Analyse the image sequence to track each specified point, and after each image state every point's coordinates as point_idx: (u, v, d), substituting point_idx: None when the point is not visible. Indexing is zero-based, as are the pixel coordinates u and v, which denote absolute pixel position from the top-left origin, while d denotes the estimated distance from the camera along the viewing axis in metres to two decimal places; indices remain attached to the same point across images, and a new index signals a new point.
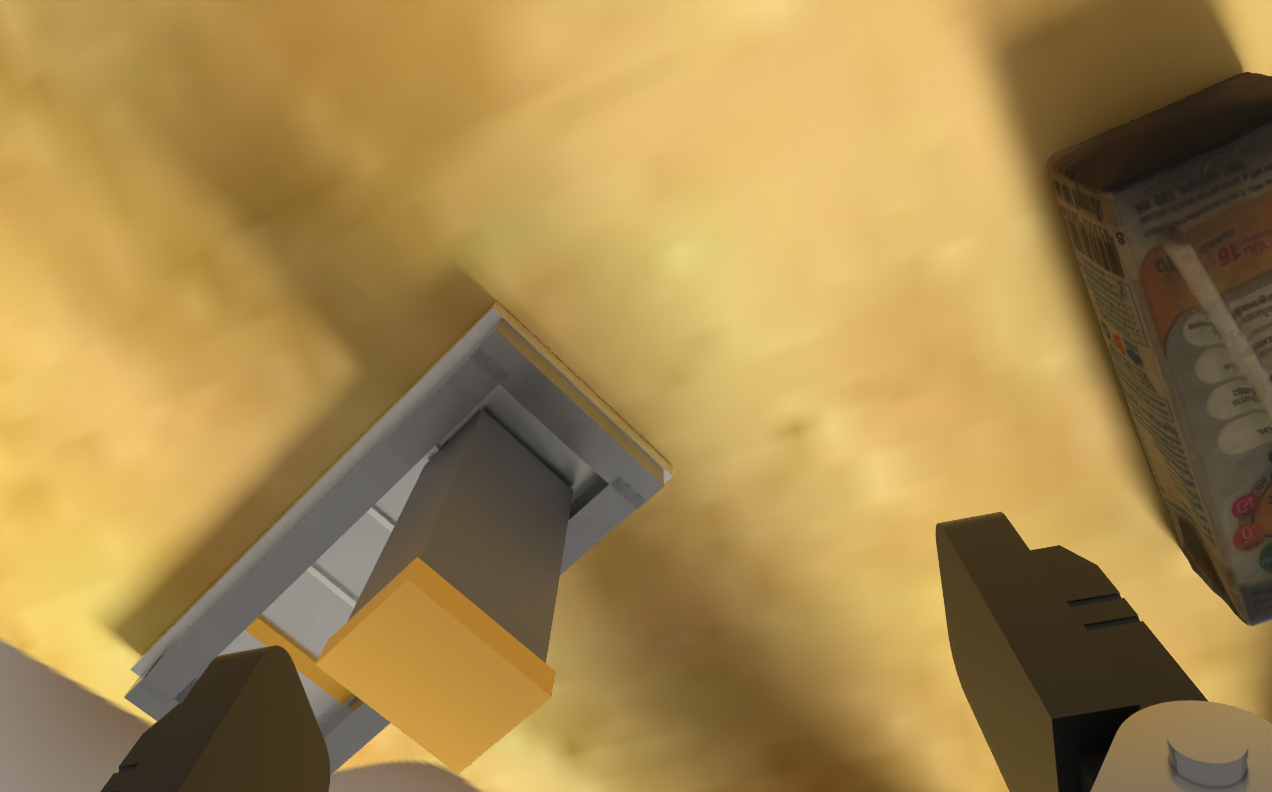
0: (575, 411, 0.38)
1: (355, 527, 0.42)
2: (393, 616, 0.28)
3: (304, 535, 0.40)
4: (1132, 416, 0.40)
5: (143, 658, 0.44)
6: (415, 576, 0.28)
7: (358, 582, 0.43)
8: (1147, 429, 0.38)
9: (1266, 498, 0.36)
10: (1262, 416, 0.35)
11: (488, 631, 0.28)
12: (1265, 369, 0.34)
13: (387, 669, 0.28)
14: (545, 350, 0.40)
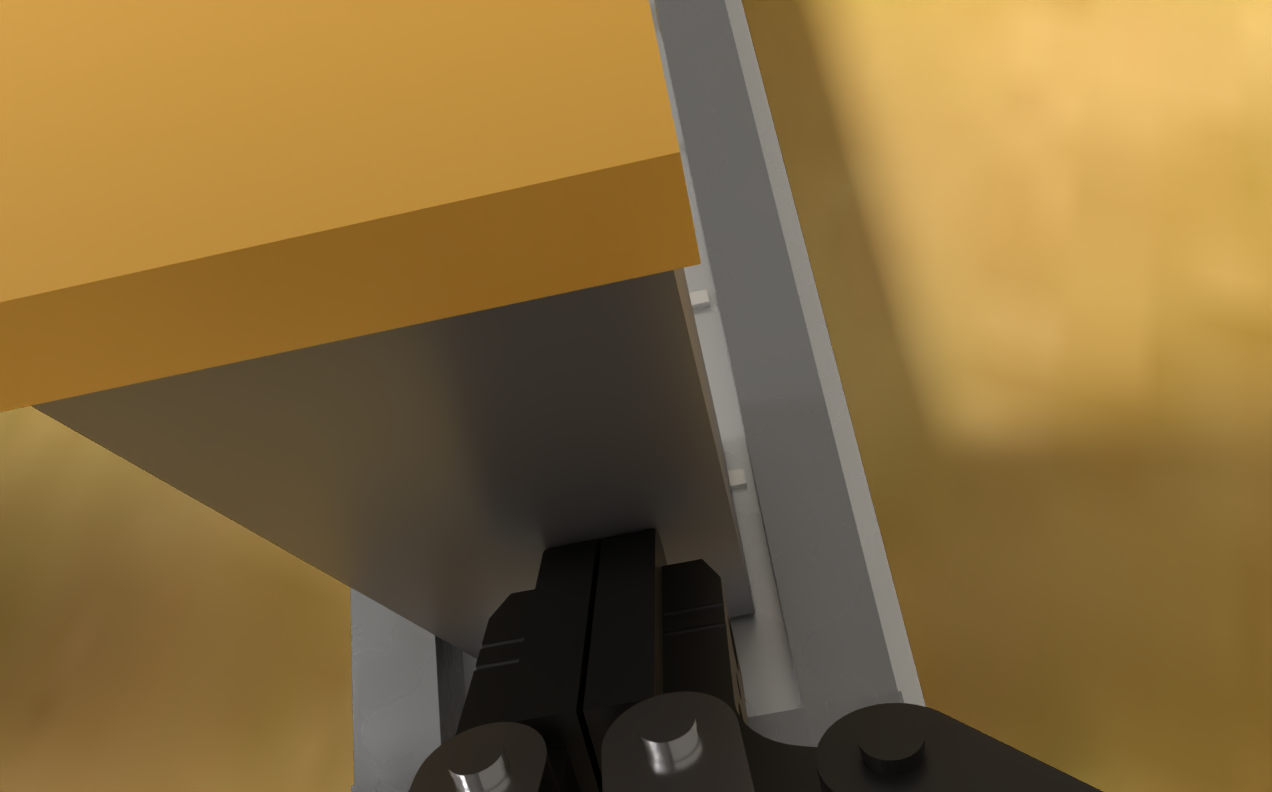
0: None
1: None
2: (569, 18, 0.06)
3: (743, 166, 0.20)
4: None
5: None
6: (658, 195, 0.06)
7: None
8: None
9: None
10: None
11: (251, 304, 0.06)
12: None
13: None
14: None
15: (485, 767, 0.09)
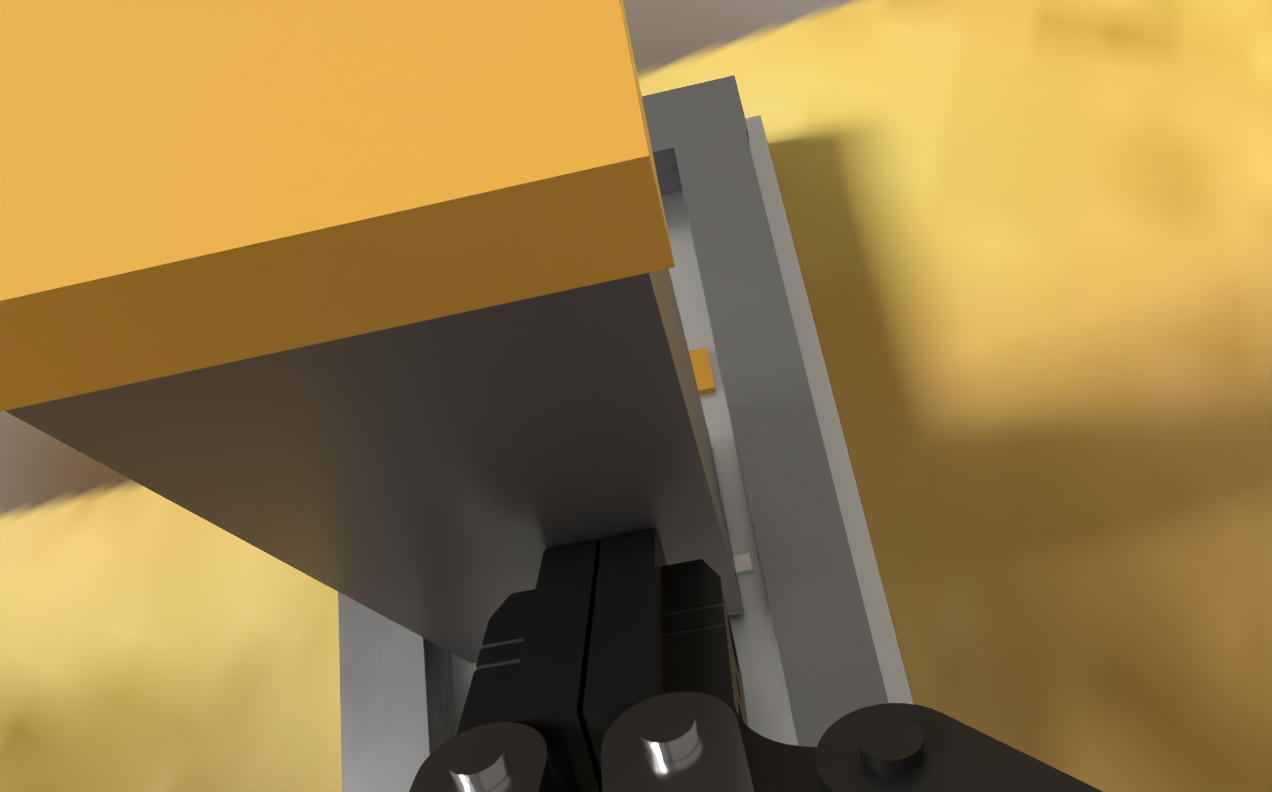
0: None
1: (771, 726, 0.17)
2: (540, 22, 0.06)
3: (846, 645, 0.16)
4: None
5: (766, 148, 0.22)
6: (629, 199, 0.06)
7: None
8: None
9: None
10: None
11: (222, 309, 0.06)
12: None
13: None
14: None
15: (486, 767, 0.09)
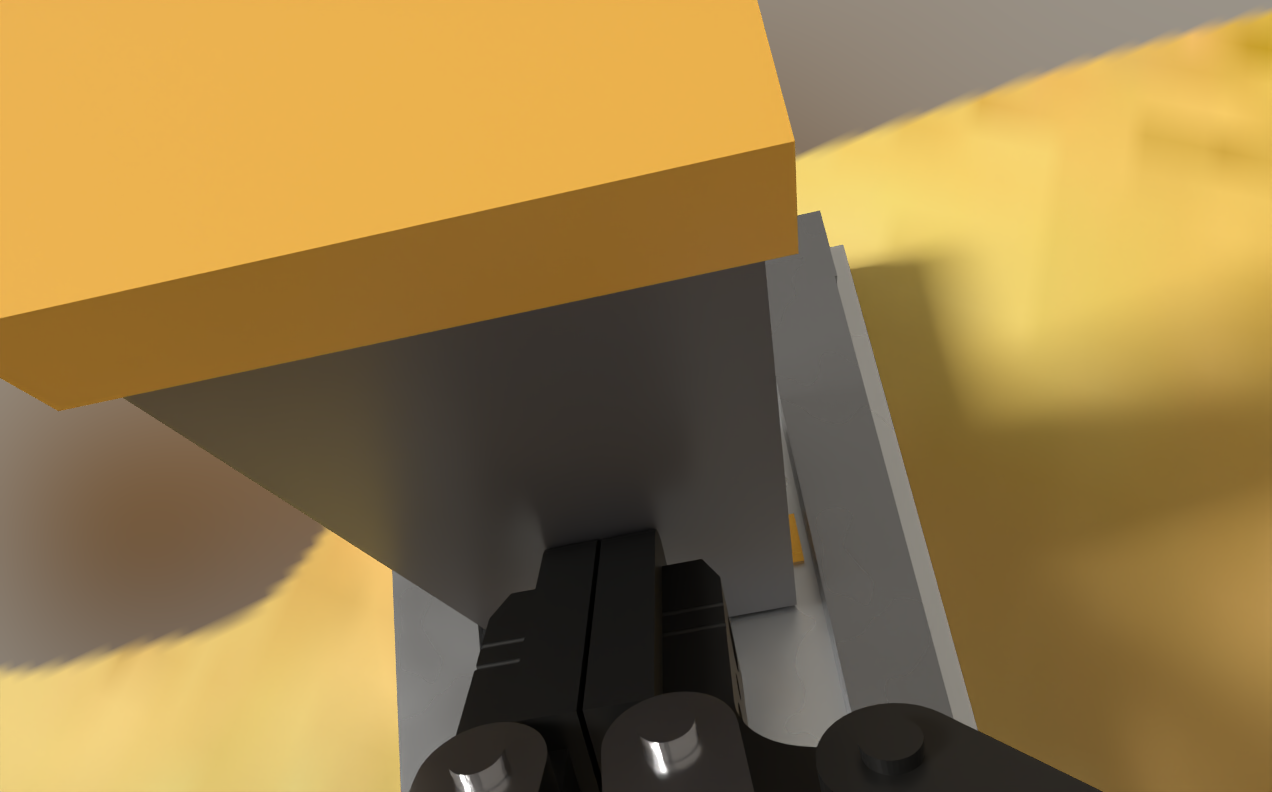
0: None
1: None
2: (675, 9, 0.06)
3: None
4: None
5: (850, 282, 0.20)
6: (767, 184, 0.06)
7: None
8: None
9: None
10: None
11: (356, 294, 0.06)
12: None
13: None
14: None
15: (485, 767, 0.09)
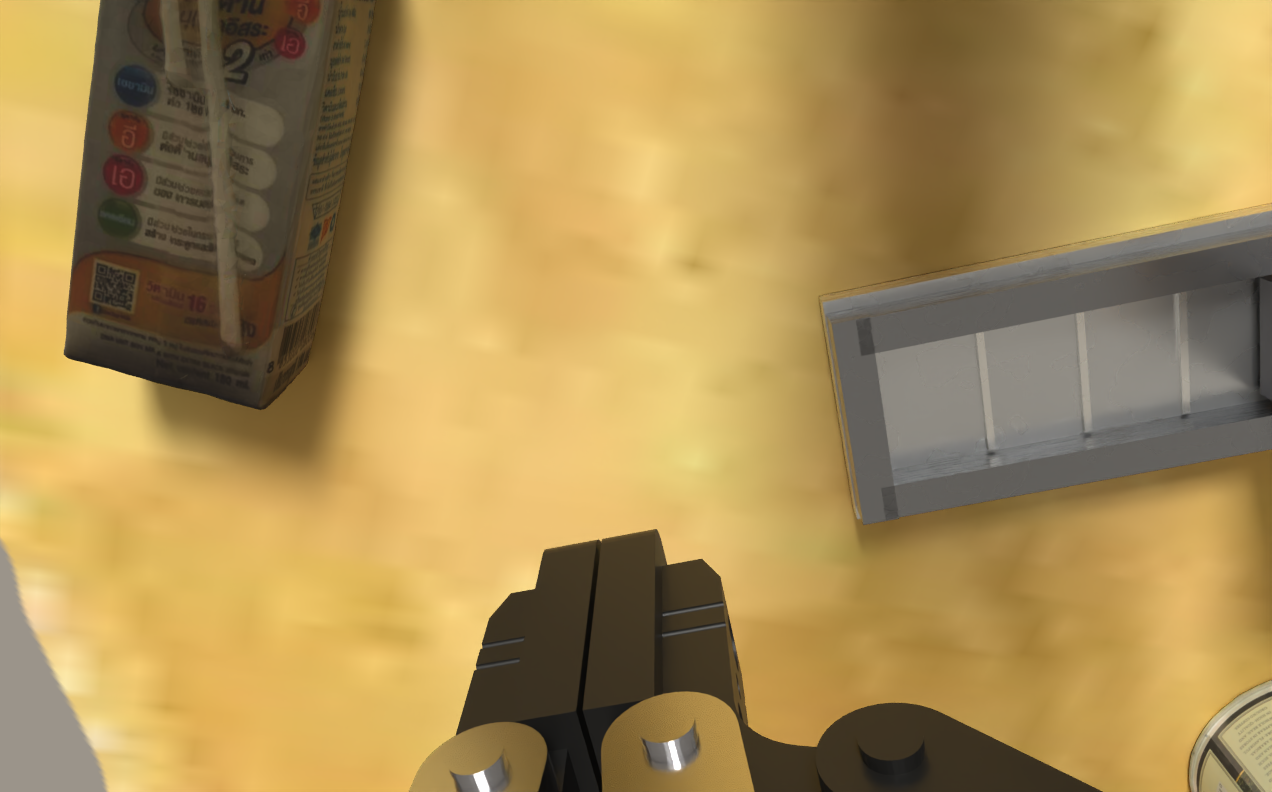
0: (854, 430, 0.41)
1: (1114, 420, 0.42)
2: None
3: (1153, 461, 0.41)
4: (356, 108, 0.39)
5: None
6: None
7: (1161, 370, 0.41)
8: (345, 124, 0.37)
9: (267, 35, 0.33)
10: (234, 129, 0.34)
11: None
12: (211, 179, 0.34)
13: None
14: (845, 457, 0.43)
15: (486, 767, 0.09)
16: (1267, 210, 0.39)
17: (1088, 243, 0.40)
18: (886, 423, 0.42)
